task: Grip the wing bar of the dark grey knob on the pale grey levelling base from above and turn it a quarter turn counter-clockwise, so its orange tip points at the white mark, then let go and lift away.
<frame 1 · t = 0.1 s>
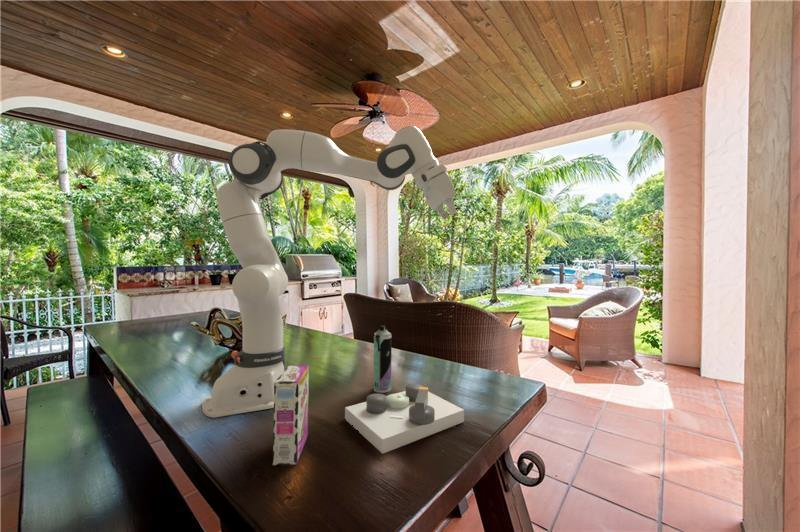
hand: (449, 216, 101), 54 cm above the table, tool tilted 30°, fingers open, 8 cm apart
wing knob: (421, 406, 76), point 6 cm above the table, hinge at 0.0°
spray can: (382, 390, 101), on the table
levelling base: (404, 420, 81), on the table
candy bar box: (292, 450, 68), on the table
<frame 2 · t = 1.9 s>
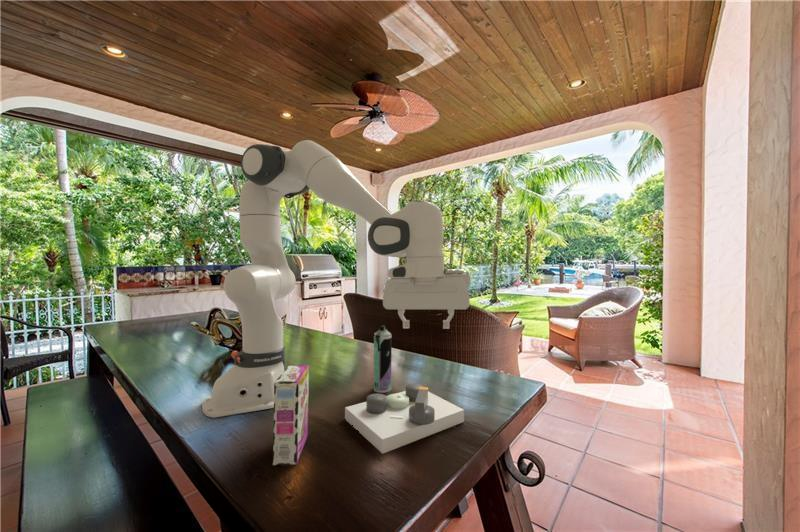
hand: (426, 328, 76), 24 cm above the table, tool pointing down, fingers open, 8 cm apart
nothing on the table moved.
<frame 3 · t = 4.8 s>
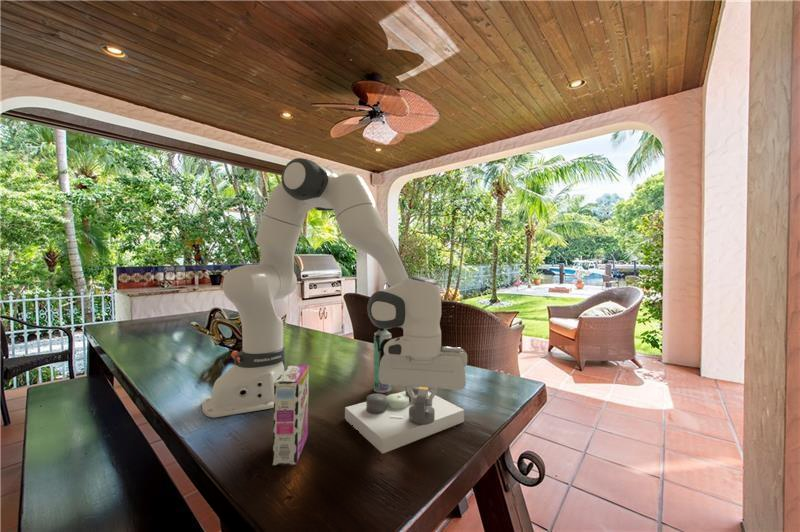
hand: (421, 404, 76), 7 cm above the table, tool pointing down, fingers closed on wing knob, 2 cm apart
wing knob: (421, 406, 76), point 6 cm above the table, hinge at 0.0°, touching gripper
everything else where it was.
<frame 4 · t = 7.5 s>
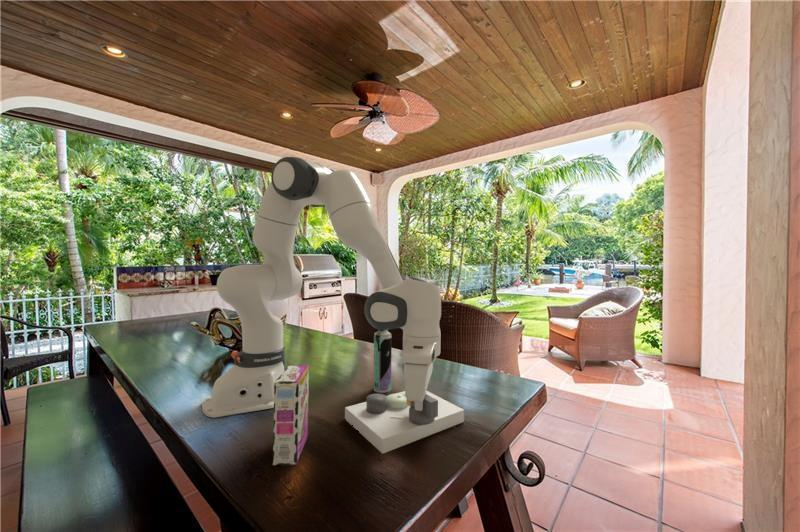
hand: (420, 404, 76), 6 cm above the table, tool pointing down, fingers closed on wing knob, 4 cm apart
wing knob: (421, 406, 76), point 6 cm above the table, hinge at 45.2°, touching gripper
everything else where it was.
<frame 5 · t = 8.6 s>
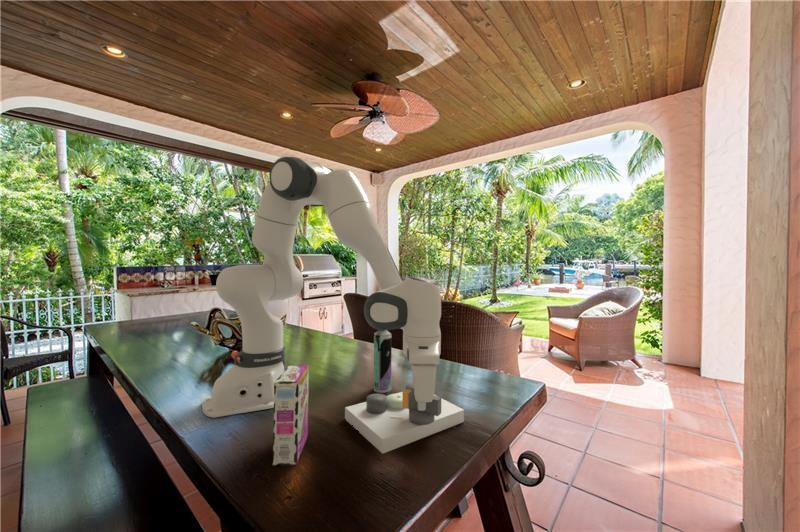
hand: (420, 404, 76), 6 cm above the table, tool pointing down, fingers closed on wing knob, 3 cm apart
wing knob: (421, 406, 76), point 6 cm above the table, hinge at 70.4°, touching gripper
everything else where it was.
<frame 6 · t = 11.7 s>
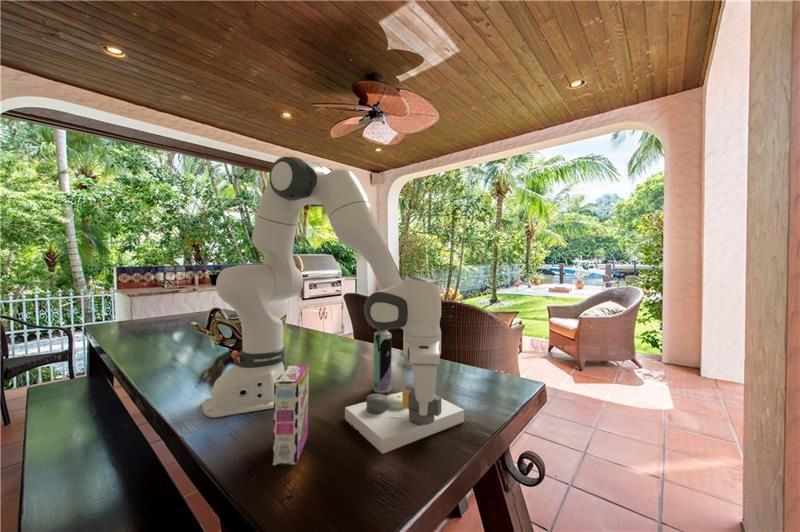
hand: (421, 404, 76), 7 cm above the table, tool pointing down, fingers open, 8 cm apart
wing knob: (421, 406, 76), point 6 cm above the table, hinge at 70.9°
everything else where it was.
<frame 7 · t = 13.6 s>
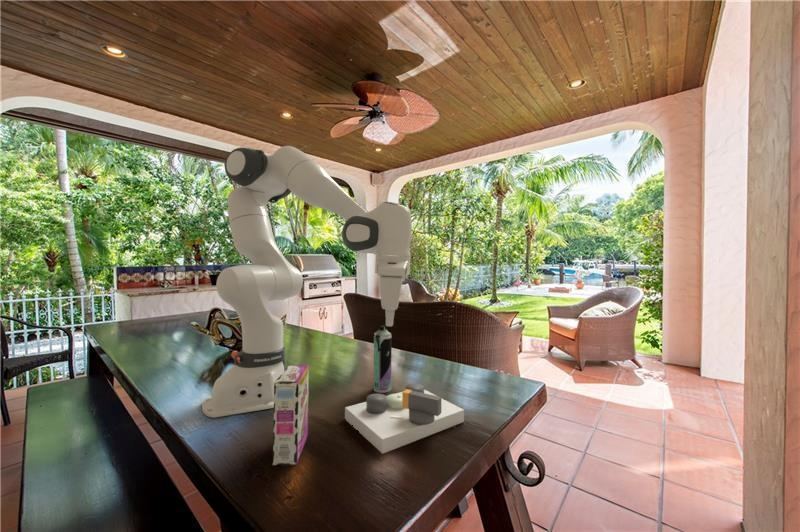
hand: (390, 321, 82), 25 cm above the table, tool pointing down, fingers open, 8 cm apart
nothing on the table moved.
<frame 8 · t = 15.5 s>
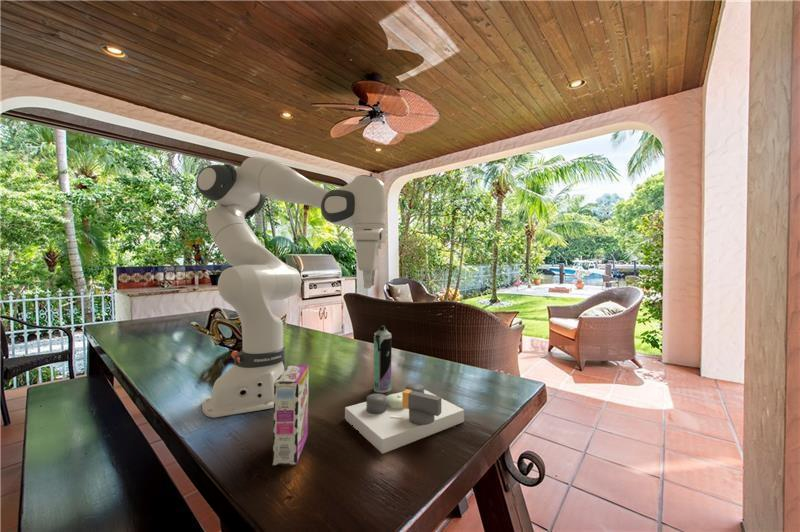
hand: (369, 287, 88), 33 cm above the table, tool pointing down, fingers open, 8 cm apart
nothing on the table moved.
at the end: wing knob at +71° (first picture: +0°) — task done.
